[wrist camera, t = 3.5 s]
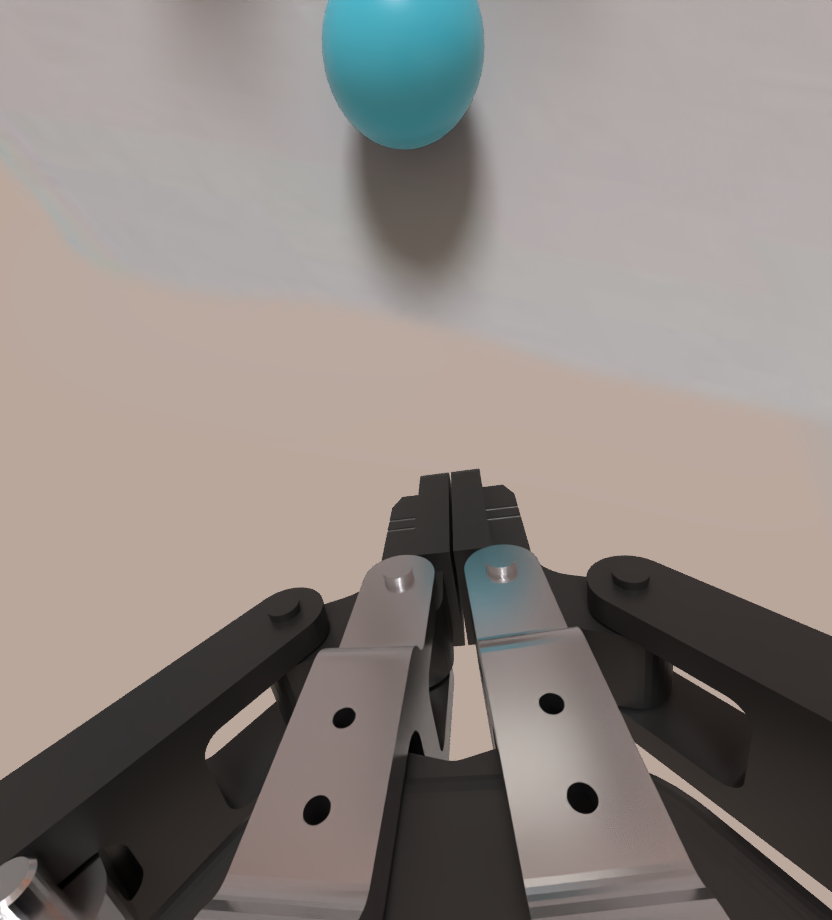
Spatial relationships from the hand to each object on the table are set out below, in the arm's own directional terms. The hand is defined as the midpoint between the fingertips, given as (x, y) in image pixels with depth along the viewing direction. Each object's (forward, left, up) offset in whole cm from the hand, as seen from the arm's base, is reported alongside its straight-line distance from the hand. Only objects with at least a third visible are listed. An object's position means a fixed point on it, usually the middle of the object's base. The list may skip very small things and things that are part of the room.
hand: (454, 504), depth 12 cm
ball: (0, -13, -12) cm, 17 cm away
